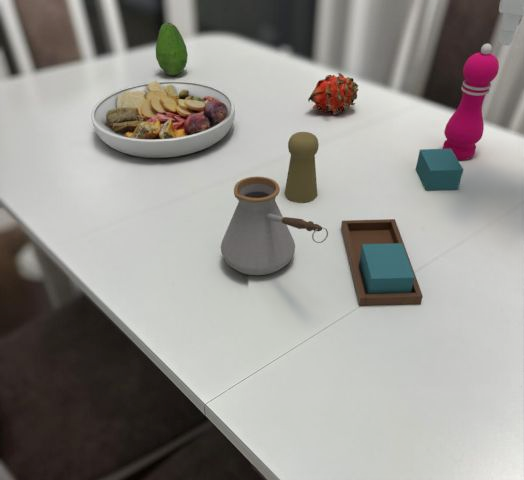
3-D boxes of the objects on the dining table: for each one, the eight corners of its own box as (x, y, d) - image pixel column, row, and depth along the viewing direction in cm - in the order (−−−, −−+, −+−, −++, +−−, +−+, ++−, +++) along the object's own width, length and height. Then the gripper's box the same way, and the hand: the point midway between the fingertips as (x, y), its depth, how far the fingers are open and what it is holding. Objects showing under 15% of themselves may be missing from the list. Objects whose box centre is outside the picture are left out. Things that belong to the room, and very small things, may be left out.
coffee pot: (209, 254, 85) (200, 166, 74) (270, 232, 89) (270, 146, 78) (280, 335, 72) (282, 244, 61) (347, 305, 76) (360, 215, 65)
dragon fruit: (360, 116, 123) (311, 129, 122) (348, 83, 123) (300, 96, 123) (368, 94, 114) (315, 109, 114) (356, 59, 115) (303, 73, 114)
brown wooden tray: (392, 230, 89) (394, 218, 87) (419, 308, 76) (422, 296, 74) (340, 232, 89) (341, 220, 87) (358, 310, 75) (360, 298, 74)
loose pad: (446, 168, 103) (451, 148, 100) (457, 189, 97) (463, 169, 94) (415, 169, 103) (419, 149, 100) (425, 190, 97) (430, 170, 94)
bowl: (69, 153, 108) (58, 115, 102) (135, 96, 128) (129, 61, 122) (205, 174, 102) (202, 134, 96) (253, 111, 121) (252, 74, 116)
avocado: (170, 82, 133) (163, 29, 125) (153, 74, 137) (145, 22, 129) (195, 74, 137) (190, 22, 128) (177, 66, 141) (171, 15, 132)
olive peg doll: (278, 190, 98) (279, 132, 90) (306, 182, 100) (310, 124, 92) (294, 206, 94) (297, 146, 86) (323, 197, 96) (328, 138, 88)
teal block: (397, 264, 81) (402, 243, 78) (409, 299, 76) (414, 277, 73) (358, 265, 81) (362, 244, 78) (367, 300, 76) (371, 278, 73)
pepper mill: (437, 158, 105) (464, 48, 91) (441, 142, 110) (467, 35, 95) (475, 164, 104) (509, 52, 89) (477, 147, 108) (510, 39, 94)
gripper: (566, -72, 60) (522, 59, 70) (577, -98, 73) (539, 17, 83) (509, -77, 62) (474, 52, 72) (529, -101, 74) (497, 12, 84)
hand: (509, 33), depth 77 cm, fingers open, 8 cm apart
